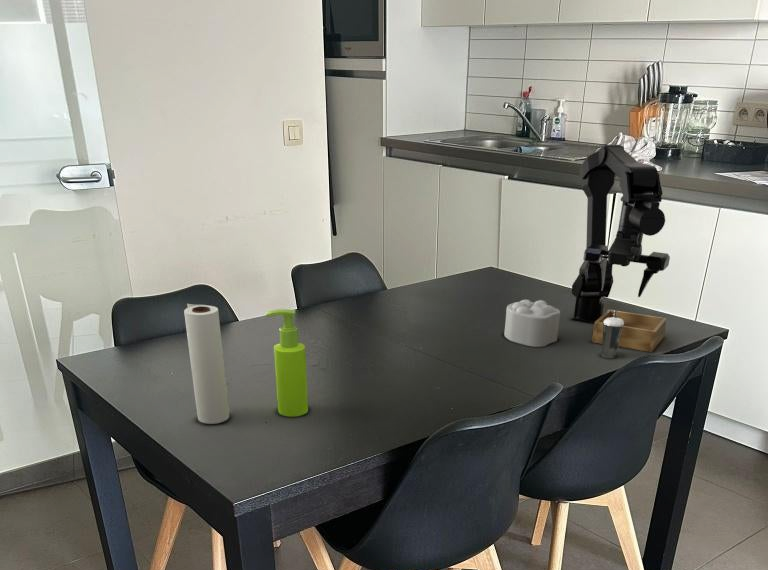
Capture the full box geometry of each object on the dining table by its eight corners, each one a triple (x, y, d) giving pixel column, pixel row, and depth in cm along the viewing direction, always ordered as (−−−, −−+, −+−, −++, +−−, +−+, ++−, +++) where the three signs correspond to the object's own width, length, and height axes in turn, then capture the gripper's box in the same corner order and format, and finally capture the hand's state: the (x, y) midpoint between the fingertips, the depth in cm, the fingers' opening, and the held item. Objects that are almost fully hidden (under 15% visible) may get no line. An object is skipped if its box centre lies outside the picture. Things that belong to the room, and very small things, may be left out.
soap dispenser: (273, 405, 155) (266, 306, 144) (308, 404, 155) (303, 305, 145) (272, 417, 150) (265, 315, 139) (308, 416, 150) (303, 314, 140)
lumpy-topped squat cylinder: (538, 348, 185) (542, 313, 181) (494, 336, 193) (497, 302, 189) (561, 338, 192) (566, 304, 187) (518, 327, 199) (522, 293, 195)
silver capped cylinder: (619, 353, 183) (626, 311, 178) (617, 360, 179) (624, 317, 174) (599, 350, 184) (606, 309, 179) (597, 358, 180) (603, 315, 175)
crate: (591, 342, 190) (594, 322, 187) (605, 328, 199) (608, 309, 197) (651, 352, 184) (655, 331, 181) (663, 337, 193) (667, 318, 191)
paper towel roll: (228, 424, 147) (216, 313, 136) (195, 425, 146) (181, 314, 135) (231, 409, 153) (220, 301, 142) (200, 410, 152) (187, 302, 141)
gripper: (581, 227, 174) (571, 296, 183) (665, 237, 167) (651, 308, 175) (595, 218, 183) (585, 284, 191) (676, 228, 175) (662, 296, 183)
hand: (619, 293), depth 185 cm, fingers open, 9 cm apart
